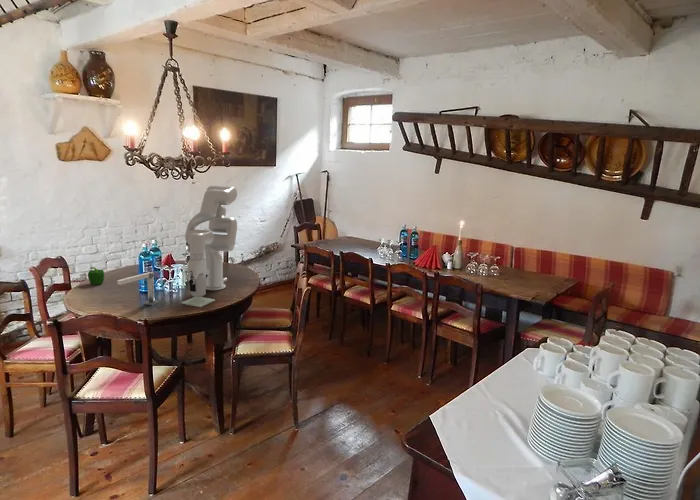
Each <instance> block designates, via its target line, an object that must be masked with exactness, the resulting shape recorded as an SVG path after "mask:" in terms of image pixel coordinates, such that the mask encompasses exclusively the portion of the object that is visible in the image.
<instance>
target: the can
mask: <svg viewBox="0 0 700 500" xmlns="http://www.w3.org/2000/svg"><path fill="white" fill-rule="evenodd" d="M192 278H194V277H192ZM193 280H194V279H192V281H193ZM195 285H196V291H195V292H193V291H190V295H191V296H192V297H193V298H194V297H204V296H205V295H206V294H207V293H206V292H207V291H206V276H205V275H204V273H203V274H202V275H198V278H197V279H196V280H195Z"/></svg>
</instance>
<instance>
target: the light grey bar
mask: <svg viewBox="0 0 700 500" xmlns="http://www.w3.org/2000/svg"><path fill="white" fill-rule="evenodd" d="M148 277H155V272H154V271H148V272H145V273H141V274H137V275H132V276H129V277H125V278H122V279H118V280H116V281H117V283H116V284H117V285H119V286H123V285H125V284H129V283H133V282H136V281H139V280H144V279H147V278H148Z"/></svg>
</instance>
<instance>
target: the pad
mask: <svg viewBox="0 0 700 500" xmlns="http://www.w3.org/2000/svg"><path fill="white" fill-rule="evenodd" d="M213 302H216V299H213V298H209V297H204V296H202V297H194V296H193V297H191V298H189V299H187V300H184V301H182V302H181V304H182V305H187V306H190V307H191V306H193V307H197V308H202V307H204V306H206V305H209V304H212V303H213Z"/></svg>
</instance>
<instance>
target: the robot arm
mask: <svg viewBox="0 0 700 500" xmlns="http://www.w3.org/2000/svg"><path fill="white" fill-rule="evenodd" d="M237 196H238V190H237V188H236V187H235V186H231V185H229V186H228V185H209V186H208V187H207V188H206V191H205V192H204V195H203V198H202V203H201V207H200V211H199V212H198V213H196V214H195V215H194V216H193V217H191V219H190V220H189V221H188V223H187V226H186V230H185V236H184V237H185V241H186V243H187V244H189V260H188V263H187V276H186V277H185V280H186V281H187V282H188V284H189V291H190V292H191V291H193V292H195V291H196V285H195V280H196V279H197V278H198V275H202V274H203V273H204V275H205V276H206V290H207V291H219V290H224V289H225V288H226V286H227V285H226V283H225V282H226V281H228V278H227V277H224V273H223V272H224V270H223V269H224V268H223V266H224V265H223V263H224V262H223V259H224V258H223V256H222V254H221V252H232V251H234V249H235V246H236V240H237V230H238V222H237V219H236V218H234V217H232V216H226V214H227V213H226V212H227V208H226V207H225V206H229V205H231V204H232V203H234V202H235V200H237ZM206 222H208V229H196V228H197V227H198V226H199V225H201V224H203V223H206ZM219 233H220V234H219ZM192 277H194V278H192ZM192 279H194V280H193V281H192Z"/></svg>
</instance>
